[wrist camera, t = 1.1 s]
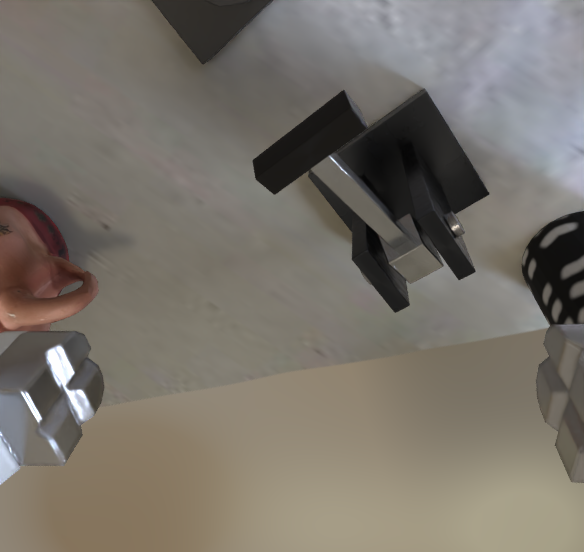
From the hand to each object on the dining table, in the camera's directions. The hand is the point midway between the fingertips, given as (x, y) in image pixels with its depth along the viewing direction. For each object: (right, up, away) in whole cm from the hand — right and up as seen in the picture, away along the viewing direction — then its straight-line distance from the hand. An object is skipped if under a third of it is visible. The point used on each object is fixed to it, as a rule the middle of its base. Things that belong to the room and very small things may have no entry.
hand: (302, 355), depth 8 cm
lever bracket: (+8, +9, +28) cm, 30 cm away
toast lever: (+4, +6, +16) cm, 17 cm away
